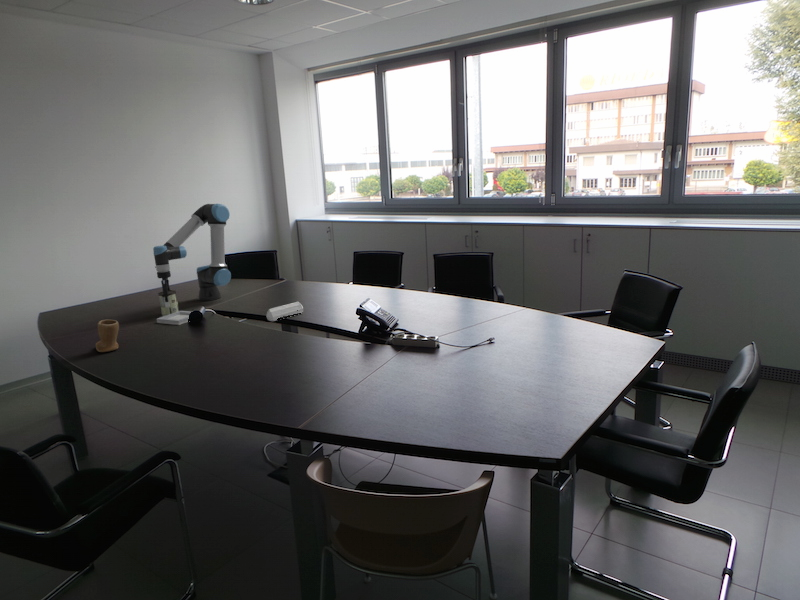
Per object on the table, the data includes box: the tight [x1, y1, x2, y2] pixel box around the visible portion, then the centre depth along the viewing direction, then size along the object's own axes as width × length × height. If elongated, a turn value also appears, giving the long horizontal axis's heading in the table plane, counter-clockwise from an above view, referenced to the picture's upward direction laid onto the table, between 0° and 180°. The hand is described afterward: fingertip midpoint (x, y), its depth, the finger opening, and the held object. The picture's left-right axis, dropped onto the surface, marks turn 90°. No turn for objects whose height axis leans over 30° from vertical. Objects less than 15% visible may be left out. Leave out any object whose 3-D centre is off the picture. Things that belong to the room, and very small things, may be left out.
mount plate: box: [156, 310, 192, 326], centre depth 314 cm, size 18×18×2 cm
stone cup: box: [95, 319, 120, 353], centre depth 264 cm, size 15×12×15 cm
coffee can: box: [157, 289, 180, 317], centre depth 326 cm, size 10×10×14 cm
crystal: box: [265, 301, 304, 322], centre depth 306 cm, size 7×7×24 cm
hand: (168, 304), depth 326 cm, fingers open, 13 cm apart
